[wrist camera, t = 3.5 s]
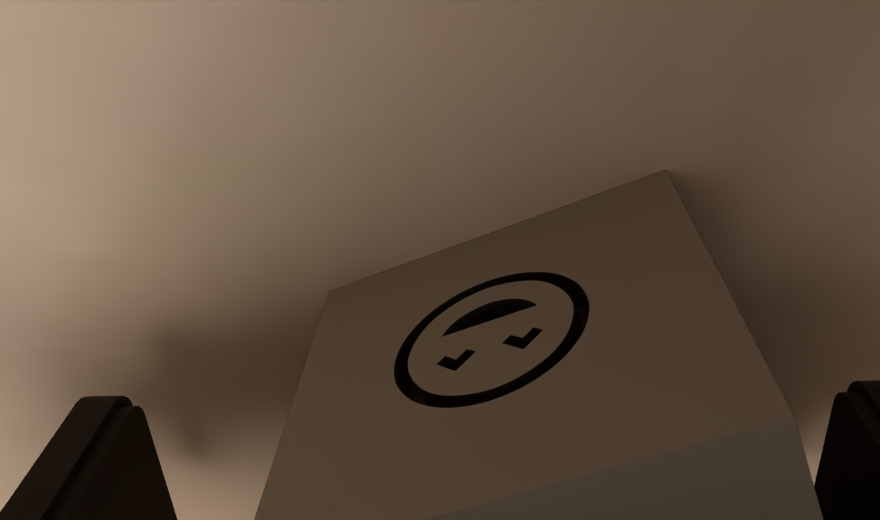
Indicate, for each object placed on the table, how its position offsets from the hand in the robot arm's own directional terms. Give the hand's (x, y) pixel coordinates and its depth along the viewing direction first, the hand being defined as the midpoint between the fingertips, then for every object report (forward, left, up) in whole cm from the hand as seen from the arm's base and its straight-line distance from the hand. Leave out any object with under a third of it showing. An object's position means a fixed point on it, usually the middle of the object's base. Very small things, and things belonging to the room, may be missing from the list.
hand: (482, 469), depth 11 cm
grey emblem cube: (-1, +1, -2) cm, 2 cm away
